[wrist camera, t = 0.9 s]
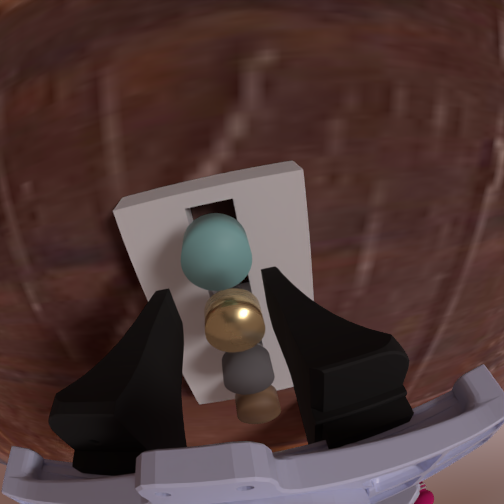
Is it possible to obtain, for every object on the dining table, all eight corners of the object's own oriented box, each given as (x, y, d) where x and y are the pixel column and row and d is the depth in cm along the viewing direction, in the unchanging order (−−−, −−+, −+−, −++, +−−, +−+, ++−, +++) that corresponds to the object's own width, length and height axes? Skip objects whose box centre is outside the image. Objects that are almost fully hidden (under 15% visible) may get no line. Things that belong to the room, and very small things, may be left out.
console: (309, 362, 31) (316, 380, 29) (198, 385, 31) (199, 404, 28) (292, 160, 21) (303, 169, 18) (122, 197, 20) (112, 211, 18)
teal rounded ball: (247, 245, 20) (257, 282, 17) (192, 257, 20) (191, 296, 16) (237, 193, 18) (245, 221, 15) (178, 206, 18) (172, 237, 15)
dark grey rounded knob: (267, 349, 25) (277, 388, 22) (225, 358, 25) (229, 398, 21) (261, 318, 23) (271, 359, 20) (215, 328, 23) (218, 370, 20)
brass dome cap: (258, 305, 23) (269, 345, 19) (210, 314, 23) (213, 356, 19) (250, 264, 21) (261, 303, 17) (198, 275, 21) (197, 315, 17)
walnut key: (273, 382, 28) (282, 418, 24) (236, 390, 28) (241, 426, 24) (269, 359, 26) (278, 398, 22) (228, 368, 26) (233, 407, 22)
